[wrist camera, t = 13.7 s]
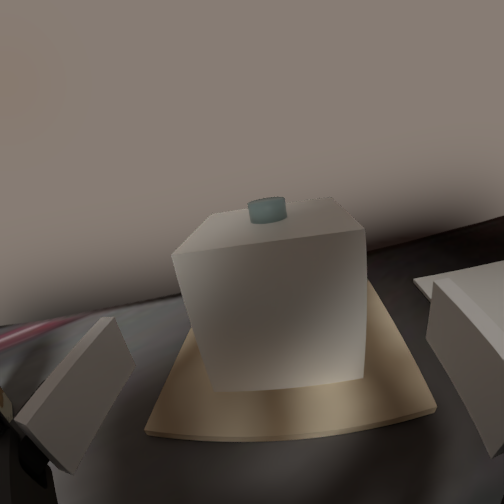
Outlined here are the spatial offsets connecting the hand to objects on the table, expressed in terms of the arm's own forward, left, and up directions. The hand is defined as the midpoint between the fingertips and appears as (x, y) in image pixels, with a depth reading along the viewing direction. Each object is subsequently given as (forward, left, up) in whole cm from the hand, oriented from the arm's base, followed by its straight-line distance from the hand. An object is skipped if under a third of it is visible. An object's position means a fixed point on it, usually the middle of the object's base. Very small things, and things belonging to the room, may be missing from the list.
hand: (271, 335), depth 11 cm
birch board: (0, -10, -8) cm, 13 cm away
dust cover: (0, -10, -8) cm, 12 cm away
